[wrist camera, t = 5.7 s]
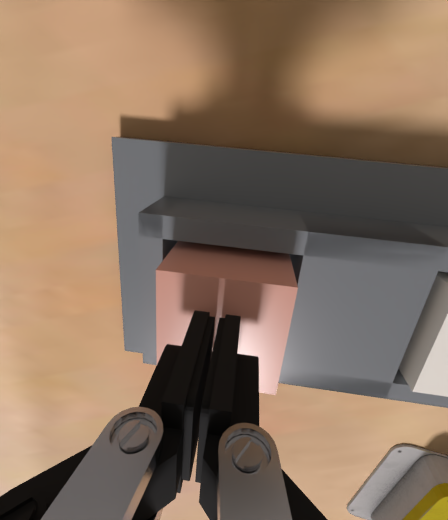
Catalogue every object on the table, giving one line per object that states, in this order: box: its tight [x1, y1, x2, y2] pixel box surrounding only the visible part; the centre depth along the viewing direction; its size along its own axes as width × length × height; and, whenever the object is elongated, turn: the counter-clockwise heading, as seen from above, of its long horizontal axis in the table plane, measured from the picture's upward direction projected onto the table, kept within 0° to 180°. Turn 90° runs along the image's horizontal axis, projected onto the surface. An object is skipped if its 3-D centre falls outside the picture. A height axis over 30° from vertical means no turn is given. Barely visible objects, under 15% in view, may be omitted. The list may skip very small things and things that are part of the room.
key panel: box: [112, 137, 448, 408], centre depth 15 cm, size 24×13×4 cm, turn 85°
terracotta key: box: [156, 241, 298, 395], centre depth 13 cm, size 5×5×3 cm
